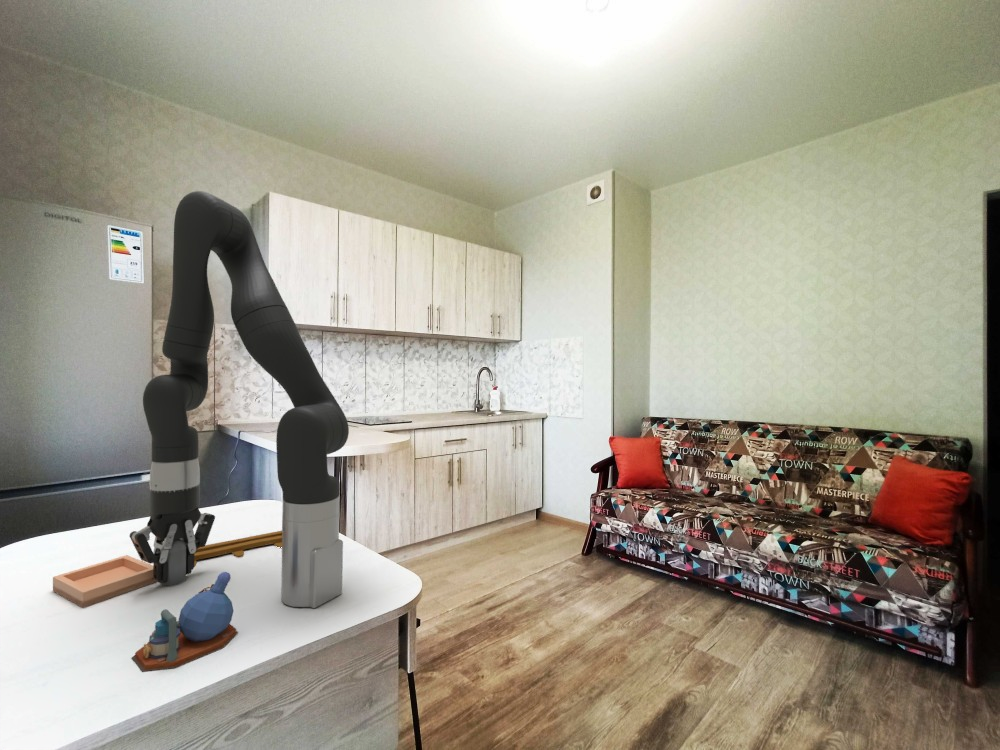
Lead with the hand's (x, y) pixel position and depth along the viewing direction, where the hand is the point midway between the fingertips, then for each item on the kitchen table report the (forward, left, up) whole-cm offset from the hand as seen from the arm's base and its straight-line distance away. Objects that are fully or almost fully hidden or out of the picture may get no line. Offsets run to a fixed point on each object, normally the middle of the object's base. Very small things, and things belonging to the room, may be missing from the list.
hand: (174, 576), depth 87 cm
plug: (0, 0, -1) cm, 1 cm away
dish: (+8, +7, -1) cm, 11 cm away
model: (-22, +10, -1) cm, 24 cm away
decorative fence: (+4, -16, -2) cm, 17 cm away
